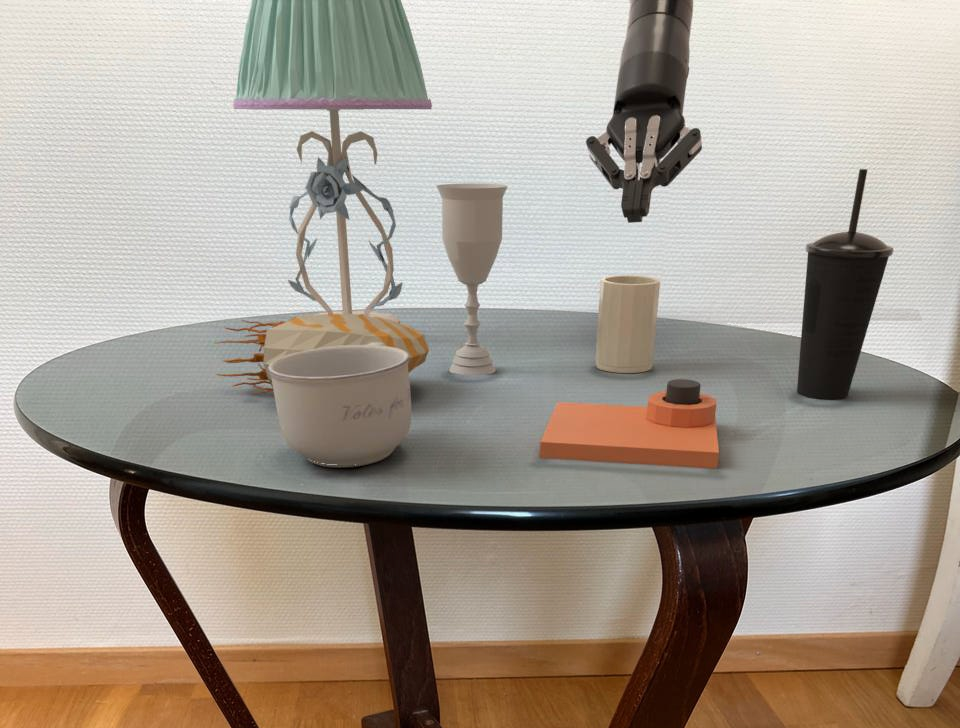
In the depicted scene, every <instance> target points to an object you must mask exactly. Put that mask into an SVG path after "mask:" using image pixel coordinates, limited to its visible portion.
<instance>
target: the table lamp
mask: <svg viewBox="0 0 960 728" xmlns="http://www.w3.org/2000/svg"><path fill="white" fill-rule="evenodd" d="M244 29H245V31H244V36H243V43H242V49H241V53H240V58H239V64H238V72H237V83H236V95H235V98H233V104H232V107H233V110H326V111H328V112H329V122H330V124H329V125H330V139H328V138H326V137H325V136H323V135H320V134H319V133H317V132H315V131H313V130H311V131H309V132H306V133H304V134H301V135H300V136H299V140H298V144H297V147H296V152H297V154H298V158H299V160H300V163H301V164H302V163H303V145H304V144H305V143H307V142H308V141H309V140H310V139H311V138H312V139H314V140H316V141H318V142H321V143H322V144H323V146H324V148H325V150H326V152H327V162H326V164H325V162H324V161H323V160H322V158H320V157H319V156H318V157H317V159H316V167H315V168H316V171H310V174H309V176H308V179H307V181H306V185H305V186H304V189H305V190H306V191H305V192H304V193H302V194H301V195H294V196H292V197H291V201H290V204H289V216H288V217H289V219H288V220H289V222H290V225H291V228H292V229H293V231H294V232H295V233H296V234H297V238H296V240H297V241H296V249H295V256H296V259H297V263H298V266H299V270H298V272H297V275H296V277H295V281H293V280H290V279H287V281H288V283H289V285H290V287H291V288H292V289H293V290H294V291H295V292H297V293H300V294H301V295H304V296H306V297H307V298H309V299H310V300H311V301H314V302H317V303H318V304H319V305H320V307H322V308H323V310H325V312H319V313H313V314H311V315H318V314H357V315H359V314H363V315H365V316H368V317H381V318H384V319H388V320H391V321H394V322H398V323H401V321H400V319H399V318H398V317H397V316H396V315H394V314H393V313H385V312H378V311H377V312H376V311H373V310H374V309H375V308H376V307H381V306H384V305H385V304H386V303H387V302H389V301H392V300H395V299H397V298H398V297H399V296H400V294H401V292H402V289H403V288H402V287H403V282H399V283H398V284H397V285H396V283H395V278H394V275H393V274H394V256H393V255H394V253H393V246H392V245H391V242H390V240H391V239H392V238H393V234H394V232H395V230H396V226H397V223H396V219H395V215H394V209H393V207H392V204H391V202H390V200H389V199H388V198H387V197H382V196H378V195H376V194H375V193H374V192H373V191H372V190H370V189H369V188H368V187H367V186H366V185H365V184H364V183H362V182H361V181H360V180H359V179H358V178H356V177H355V176H354V174H352V171H351V166H350V160H349V156H348V149H349V147H350V146H351V144H354V143H358V142H361V141H366V143H367V144H368V145H369V147H370V148H371V150H372V152H373V164H374V165H377V161H378V155H379V154H378V150H377V147H376V142H375V139H374V137H373V136H371V135H369V134H367V133H365V132H364V131H357V132H354V133H350V134H348V135H347V136H346V138H345V139H344V140H343V141H341V129H340V128H341V127H340V112H339V111H341V110H344V111H345V110H347V111H348V110H352V111H353V110H355V111H356V110H432V107H433V103H432V100H431V98H429V96H428V92H427V89H426V88H427V87H426V83H425V78H424V74H423V70H422V64H421V61H420V57H419V54H418V50H417V46H416V43H415V40H414V36H413V33H412V30H411V25H410V23H409V20H408V17H407V13H406V10H405V8H404V5H403V2H402V0H251V3H250V8H249V12H248V15H247V20H246V23H245V28H244ZM341 142H342V143H341ZM344 175H345V176H346V179H347V180H348V182H347V183H346V180H344ZM362 191H364V192H365V193H366V194H368V195H369V196H371V197H372V198H374V199H375V200H377V202H380V203H381V205H382V208H383V210H384V211H386V212H387V214H388V216H389V218H390V219H391V221H392V222H391V226H390V230H389V233H388V235H387V233H386V230H385V228H384V226H383V224H382V222H381V220H380V219H379V218H378V216H377V214H376V213H375V211H374V210H373V208H372V206H371V205H370V204H369V202H368V200H367V199H366V198H365V196H364V194H363V193H362ZM307 195H308V196H309V199H310V200H311V205H310V206H309V209H308V210H307V212H306V214H305V216H304V218H303V220H302V221H301V223H300V226H299V227H297V225H296V223H295V221H294V217H293V214H294V211H295V209H296V208H298V207H299V204H300V200H301V199H302V198H304V197H305V196H307ZM351 195H355V196H356V197H357V199H358V200H359V202H360V204H361V205H362V206H363V207H362V208H364V210H365V211H366V213H367V215H368V216H369V217H370V219H371V221H372V222H373V224H374V225H375V227H376V229H377V230H378V232H379V234H380V235H381V239H382V241H380V242H379V243H378V244H377V245H376V246H375V245H373V243H372V242H371V241H370V240H367V242H368V243H369V245H370V248H371V249H372V251H373V252H374V254H375V256H376V257H377V259H378V261H379V262H380V263H381V264H382V266H383V269H384V271H385V277H384V282H383V283H384V284H383V287H382V290H381V291H380V292H379V293H378V294H377V296H376V297H374V298H373V300H372V301H371V302H370V303H369V304H368V305H367V306H366V307H365V309H364V310H353V306H352V305H353V304H352V291H351V289H352V288H351V276H350V275H351V274H350V259H349V246H348V231H347V220H350V216H349V210H348V208H347V205H346V202H345V201H346V199H347V196H351ZM317 210H318V215H319V219H320V220H322V218H323V217H324V216H325V215H326V214H332V213H333V214H334V213H335V214H336V215H335V216H336V230H337V246H338V248H337V249H338V261H339V276H340V277H339V278H340V291H341V306H342V307H341V308H342V311H341V310H339V311H333V310H332V308H331V307H330V306H329V304H327V302H326V301H325V300H324V299H323V297H322V296H321V295H320V294H319V293H318V292H317V290H316V289H315V287H313V286H312V284H311V283H310V279H309V276H308V272H307V268H306V265H305V264H306V262H307V259H309V258H310V255H311V254H312V252H313V250H314V248H315V246H316V243H317V240H318V238H315V239H314V241H312V243H311V241H310V240H309V239H307V238H306V232H307V227H308V225H309V224H310V222H311V220H312V218H313V216H314V214H315V212H316V211H317ZM297 228H298V229H297ZM304 243H306V247H305V252H304V257H303V248H304V245H305V244H304ZM382 246H384V251H385V255H386V259H387V262H386V261H385V257H384V255H383V252H382V249H381V248H382ZM300 277H301V278H302V282H303V283H304V287H305V289H304V287H303V286H302V284H301V281H300V280H299V279H300ZM390 287H391V288H390ZM305 290H307V291H305ZM387 294H388V295H387ZM386 295H387V296H386ZM385 296H386V297H385ZM384 297H385V298H384ZM383 298H384V299H383Z"/></svg>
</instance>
